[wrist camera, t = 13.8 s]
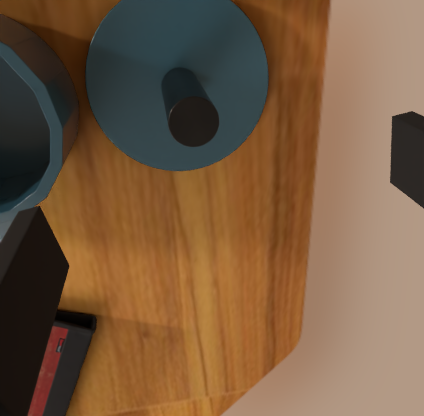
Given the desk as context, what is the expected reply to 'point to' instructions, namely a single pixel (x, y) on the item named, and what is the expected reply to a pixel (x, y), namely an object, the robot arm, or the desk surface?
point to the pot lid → (176, 80)
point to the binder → (62, 363)
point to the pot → (31, 119)
